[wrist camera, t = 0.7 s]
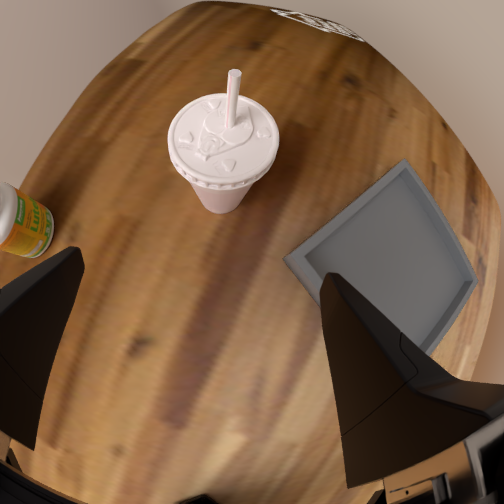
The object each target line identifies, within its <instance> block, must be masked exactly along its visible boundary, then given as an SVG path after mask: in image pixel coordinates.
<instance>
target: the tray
mask: <svg viewBox="0 0 504 504" xmlns="http://www.w3.org/2000/svg"><path fill="white" fill-rule="evenodd" d="M283 260H284V261H285V263H286V264H287V265H288V267H289V268H290V269H291V270H292V272H293V273H294V274H295V276H296V277H297V278H298V279H299V281H300V282H301V283H302V285H303V286H304V287H305V289H306V290H307V291H308V292H309V294H310V295H311V296H312V298H313V299H314V300H315V302H316V303H317V304H318V306H319V307H320V297H319V292H320V288H321V285H322V283H323V280H324V278H325V275H326V274H327V273H328V272H335V273H339V274H340V275H341V276H342V277H343V278H344V279H346V280H347V281H348V282H349V283H350V284H351V285H352V286H353V287H355V288H356V289H357V290H358V291H359V292H360V293H361V294H362V295H363V296H364V297H366V298H367V299H368V300H369V301H370V302H371V303H372V304H373V305H374V306H375V307H376V308H377V309H379V310H380V311H381V312H382V313H383V314H384V315H385V316H386V317H387V318H388V319H389V320H390V321H391V322H392V323H393V324H394V325H396V326H397V327H398V328H399V329H400V330H401V332H403V333H404V334H405V335H406V336H407V337H408V338H409V339H410V340H411V341H412V342H413V343H415V344H416V345H417V346H418V347H419V348H420V349H421V350H422V351H424V352H425V353H426V354H427V355H428V356H430V355H431V353H432V352H433V351H434V350H435V348H436V347H437V346H438V344H439V343H440V341H441V340H442V339H443V337H444V336H445V334H446V333H447V332H448V330H449V329H450V327H451V326H452V324H453V323H454V321H455V320H456V318H457V317H458V315H459V313H460V312H461V310H462V309H463V307H464V305H465V304H466V302H467V300H468V299H469V297H470V295H471V294H472V292H473V290H474V288H475V287H476V285H477V283H478V279H477V277H476V274H475V272H474V270H473V268H472V266H471V264H470V262H469V260H468V258H467V256H466V254H465V252H464V250H463V248H462V246H461V244H460V242H459V240H458V238H457V237H456V235H455V233H454V231H453V230H452V228H451V226H450V224H449V223H448V221H447V219H446V218H445V216H444V214H443V213H442V211H441V209H440V208H439V206H438V205H437V203H436V202H435V200H434V198H433V197H432V195H431V194H430V192H429V191H428V189H427V188H426V186H425V185H424V184H423V182H422V181H421V179H420V178H419V177H418V175H417V174H416V172H415V171H414V170H413V168H412V167H411V166H410V164H409V163H408V162H407V160H406V159H405V158H404V159H403V160H402V161H400V162H399V163H398V164H396V165H395V166H394V167H393V168H391V169H390V170H389V171H388V172H387V173H386V174H384V175H383V176H382V177H381V178H380V179H379V180H377V181H376V182H375V183H374V184H373V185H371V186H370V187H369V188H368V189H367V190H366V191H364V192H363V193H362V194H361V195H360V196H358V197H357V198H356V199H355V200H354V201H353V202H351V203H350V204H349V205H348V206H347V207H345V208H344V209H343V210H342V211H341V212H339V213H338V214H337V215H336V216H334V217H333V218H332V219H331V220H330V221H328V222H327V223H326V224H325V225H324V226H322V227H321V228H320V229H319V230H317V231H316V232H315V233H314V234H313V235H311V236H310V237H309V238H308V239H306V240H305V241H304V242H303V243H301V244H300V245H299V246H298V247H297V248H295V249H294V250H293V251H292V252H290V253H289V254H288V255H287V256H285V257H284V258H283ZM320 308H321V307H320Z"/></svg>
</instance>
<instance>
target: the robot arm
mask: <svg viewBox="0 0 504 504" xmlns="http://www.w3.org/2000/svg"><path fill="white" fill-rule="evenodd" d="M84 269H85V265H84V261H83V257H82V253H81V250H80V248H79V247H73V246H70V247H68V248H66V249H64V250H62V251H61V252H59V253H57V254H55V255H54V256H52V257H50V258H48V259H47V260H45V261H43V262H42V263H40V264H38V265H37V266H35V267H33V268H32V269H30V270H29V271H27V272H25V273H24V274H22V275H21V276H19V277H17V278H16V279H14V280H13V281H11V282H10V283H8V284H7V285H5V286H4V287H2V289H0V504H87V503H85V502H82V501H80V500H77V499H75V498H72V497H70V496H67V495H65V494H63V493H61V492H58V491H56V490H54V489H52V488H50V487H48V486H46V485H44V484H42V483H40V482H38V481H36V480H34V479H33V478H31V477H29V476H27V475H25V474H24V473H23V472H22V470H21V468H20V466H19V464H18V462H17V459H16V457H15V455H14V452H13V450H12V449H11V448H10V447H9V446H10V442H11V439H13V440H15V441H16V442H18V443H20V444H22V445H23V446H25V447H27V448H29V449H31V450H33V451H34V449H35V443H36V436H37V430H38V425H39V419H40V414H41V409H42V405H43V400H44V395H45V391H46V387H47V383H48V380H49V376H50V372H51V369H52V365H53V362H54V359H55V356H56V352H57V349H58V346H59V343H60V340H61V337H62V335H63V332H64V329H65V326H66V323H67V321H68V318H69V315H70V313H71V310H72V308H73V305H74V302H75V299H76V295H77V292H78V289H79V286H80V283H81V279H82V276H83V273H84ZM319 297H320V307H321V318H322V329H323V335H324V340H325V345H326V351H327V356H328V361H329V366H330V372H331V377H332V383H333V389H334V394H335V401H336V407H337V413H338V419H339V426H340V433H341V436H342V437H341V441H342V448H343V456H344V464H345V473H346V482H347V488H348V489H349V488H354V487H358V486H362V485H365V484H369V483H373V482H376V481H379V480H383V484H384V489H382V490H379V491H375V493H374V494H373V496H372V497H371V498H370V500H369V501H368V503H367V504H504V385H501V384H489V383H480V382H471V381H464V380H460V379H458V378H455V377H454V376H452V375H451V374H449V373H448V372H447V371H446V370H445V369H444V368H442V367H441V366H440V365H439V364H438V363H436V362H435V361H434V360H433V359H432V358H431V357H429V356H428V355H427V354H426V353H425V352H424V351H422V350H421V349H420V348H419V347H418V346H417V345H416V344H415V343H413V342H412V341H411V340H410V339H409V338H408V337H407V336H406V335H405V334H404V333H403V332H401V330H400V329H399V328H398V327H397V326H396V325H394V324H393V323H392V322H391V321H390V320H389V319H388V318H387V317H386V316H385V315H384V314H383V313H382V312H381V311H380V310H379V309H377V308H376V307H375V306H374V305H373V304H372V303H371V302H370V301H369V300H368V299H367V298H366V297H364V296H363V295H362V294H361V293H360V292H359V291H358V290H357V289H356V288H355V287H353V286H352V285H351V284H350V283H349V282H348V281H347V280H346V279H344V278H343V277H342V276H341V275H340V274H339V273H335V272H328V273H327V274H326V275H325V278H324V280H323V283H322V285H321V288H320V292H319ZM203 498H204V499H203ZM180 504H218V503H217V502H215V501H214V500H212V499H211V498H210V497H208V496H207V495H200V496H198V497H196V498H193V499H191V500H189V501H185V502H183V503H180Z"/></svg>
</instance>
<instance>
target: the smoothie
mask: <svg viewBox="0 0 504 504" xmlns="http://www.w3.org/2000/svg"><path fill="white" fill-rule="evenodd" d="M240 79H241V71H239V70H237V69H232V70H230V71H229V73H228V86H227V93H220V94H212V95H207V96H204V97H201V98H198V99H196V100H194V101H192V102H190V103H189V104H187V105H186V106H185V107H184V108H182V109H181V110H180V111H179V112H178V114H177V115H176V116H175V118H174V119H173V121H172V123H171V125H170V128H169V132H168V147H169V148H168V149H169V153H170V158H171V161H172V163H173V164H174V166H175V168H176V169H177V171H178V172H179V173H180V174H181V175H182V176H183V177H184V178H186V179H187V180H188V181H189V182H190V183H191V185H192V187H193V188H194V190H195V192H196V194H197V195H198V197H199V199H200V200H201V202H202V204H203V205H204V207H205V208H206V209H208V210H209V211H211V212H213V213H217V214H224V213H228V212H231V211H232V210H234V209H235V208H236V207H237V206H238V205H239V203H240V202H241V200H242V199H243V197H244V196H245V194H246V193H247V192H248V190H249V189H250V187H251V186H252V184H253V183H254V182H255V181H257V180H259V179H260V178H261V177H262V176H263V175H264V174H265V173H266V172H267V171H268V170H269V169H270V167H271V165H272V164H273V162H274V160H275V157H276V152H277V149H278V146H279V132H278V128H277V125H276V122H275V120H274V119H273V117H272V116H271V114H270V113H269V112H268V111H267V110H266V109H265V108H264V107H263V106H261V105H260V104H259V103H257V102H255V101H254V100H252V99H249V98H247V97H244V96H240V95H238V94H239V87H240Z"/></svg>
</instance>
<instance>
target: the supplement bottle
mask: <svg viewBox="0 0 504 504" xmlns="http://www.w3.org/2000/svg"><path fill="white" fill-rule="evenodd" d="M53 232H54V221H53V217H52V214H51V212H50V211H49V210H48V209H47V208H46V207H45V206H43V205H42V204H40V203H39V202H37V201H35V200H34V199H32V198H30V197H29V196H27V195H26V194H24V193H22V192H21V191H19V190H18V189H16V188H14V187H13V186H11V185H10V184H8V183H5V182H0V250H3V251H6V252H10V253H14V254H17V255H21V256H24V257H28V258H35V257H38V256H40V255H41V254H42V253H43V252H44V251H45V250H46V249H47V248H48V246H49V244H50V242H51V240H52V237H53Z"/></svg>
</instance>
